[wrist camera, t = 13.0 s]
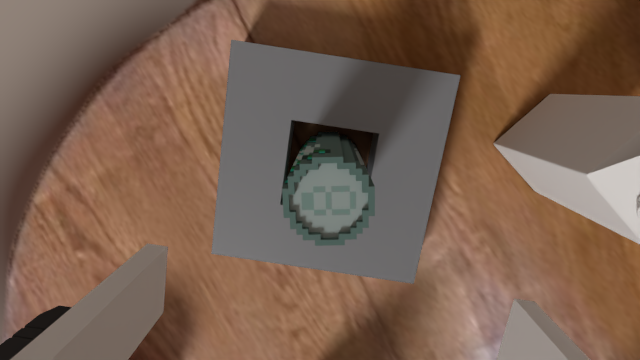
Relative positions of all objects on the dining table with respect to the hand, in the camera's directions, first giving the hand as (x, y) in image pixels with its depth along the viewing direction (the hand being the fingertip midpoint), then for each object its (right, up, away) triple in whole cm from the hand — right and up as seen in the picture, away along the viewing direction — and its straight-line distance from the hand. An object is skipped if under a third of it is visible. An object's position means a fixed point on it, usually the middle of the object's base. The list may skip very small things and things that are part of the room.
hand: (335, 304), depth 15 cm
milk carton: (+22, +8, +25) cm, 34 cm away
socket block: (0, +7, +26) cm, 27 cm away
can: (0, +7, +26) cm, 27 cm away
